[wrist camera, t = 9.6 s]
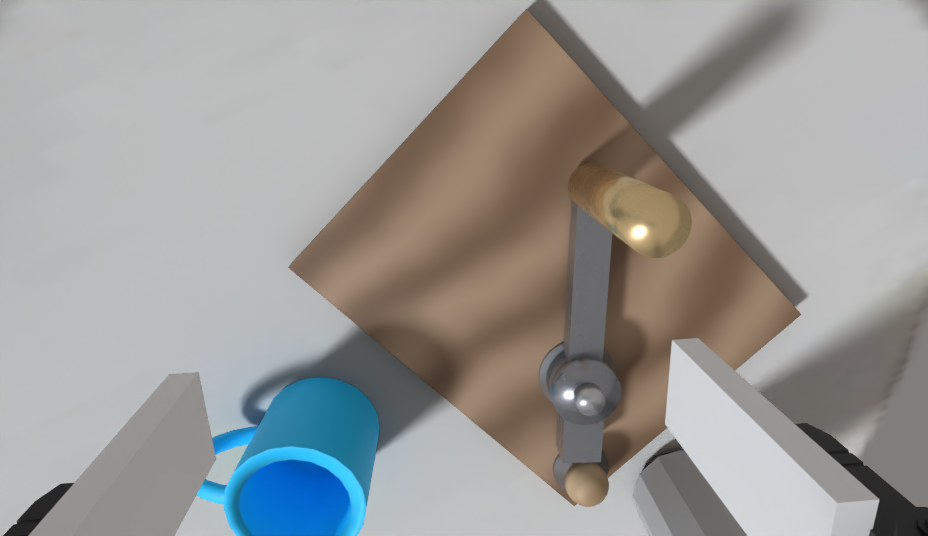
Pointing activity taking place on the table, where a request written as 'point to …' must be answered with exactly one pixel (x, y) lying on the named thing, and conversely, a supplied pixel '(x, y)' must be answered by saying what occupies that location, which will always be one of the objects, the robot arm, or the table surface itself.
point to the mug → (302, 464)
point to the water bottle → (681, 500)
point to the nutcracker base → (530, 260)
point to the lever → (602, 294)
